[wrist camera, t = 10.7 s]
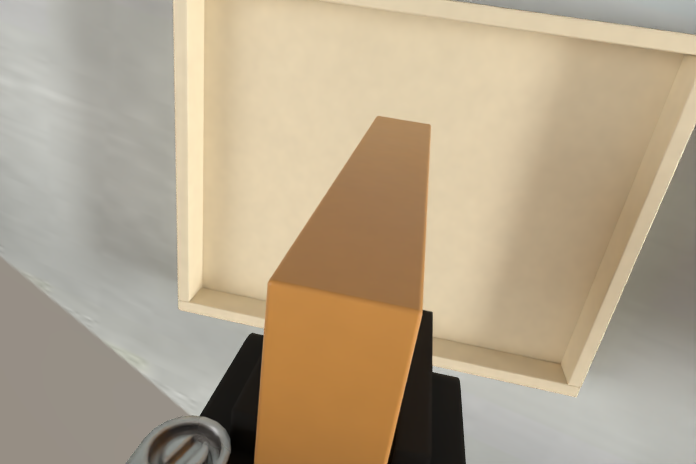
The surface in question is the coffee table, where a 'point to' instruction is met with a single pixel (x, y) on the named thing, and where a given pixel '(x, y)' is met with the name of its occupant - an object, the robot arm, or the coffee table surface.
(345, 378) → the toast
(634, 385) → the coffee table surface
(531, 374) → the tray
